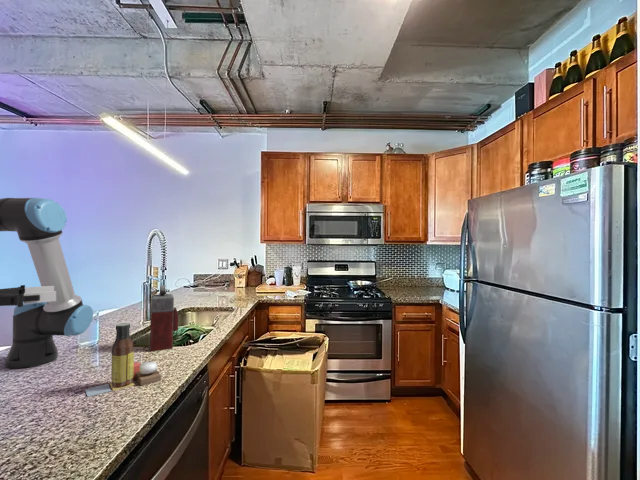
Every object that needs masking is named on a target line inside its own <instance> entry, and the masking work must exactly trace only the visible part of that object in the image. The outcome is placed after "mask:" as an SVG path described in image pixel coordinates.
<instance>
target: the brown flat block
mask: <svg viewBox="0 0 640 480" xmlns="http://www.w3.org/2000/svg"><path fill="white" fill-rule="evenodd" d="M134 379H135V380H136V381H137V383H139V385H140V386H141V387H142V386H146V385H150V384H154V383H157V382H162V375H161V373H160V372H159V371H158V370H156V371H155V372H153V373H149V374H141V373H140V371H139V372H135V378H134Z"/></svg>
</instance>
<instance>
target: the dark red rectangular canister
mask: <svg viewBox="0 0 640 480" xmlns="http://www.w3.org/2000/svg"><path fill="white" fill-rule="evenodd" d="M166 287H167V286H166V285H161V284H160V285H159V294H152V295H151V296H150V323H149V324H150V331H149V352H151V353H152V352H156V351H157V352H159V351H166V350H172V349H173V345H174V344H173V343H174V332H178V331H179V313H178V309H177V307H175V306H174V305H175V302H174V301H175V297H174V295H173V294H172V293H167V294H166V291H167V290H166Z"/></svg>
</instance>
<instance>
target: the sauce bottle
mask: <svg viewBox="0 0 640 480" xmlns="http://www.w3.org/2000/svg"><path fill="white" fill-rule="evenodd" d="M130 328H131V323H130V322H120V323H117V324H116V325H115V329H116V334H115V340H114V342H113V343H112V347H111V376H110V377H111V378H110V379H111V383H112V385H113V386H115V387H121V386H126V385H129V384H131V383H132V382H133V381H134V378H133V376H134V363H135V359H134V358H135V357H134V355H135V352H134V341H133V340H132V338H131V335H130ZM133 383H134V382H133Z"/></svg>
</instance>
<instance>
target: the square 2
mask: <svg viewBox="0 0 640 480" xmlns="http://www.w3.org/2000/svg"><path fill="white" fill-rule="evenodd" d="M133 386H135V383H134V382H132V383H131V384H129V385H126V386H121V387H115V386H113V385H112V382H110V383H109V387H110V389H111V391H118V390H121V389H125V388H129V387H133Z"/></svg>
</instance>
